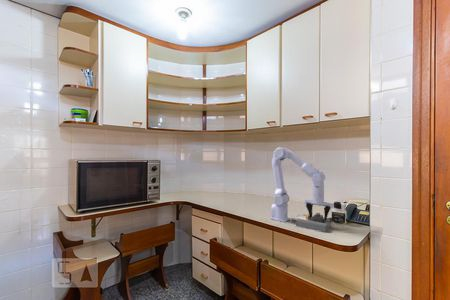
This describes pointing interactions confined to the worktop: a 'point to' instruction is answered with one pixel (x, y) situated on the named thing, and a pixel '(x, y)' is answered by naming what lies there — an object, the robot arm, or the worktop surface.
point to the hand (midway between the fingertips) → (318, 218)
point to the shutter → (303, 217)
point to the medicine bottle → (339, 213)
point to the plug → (318, 218)
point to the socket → (314, 224)
